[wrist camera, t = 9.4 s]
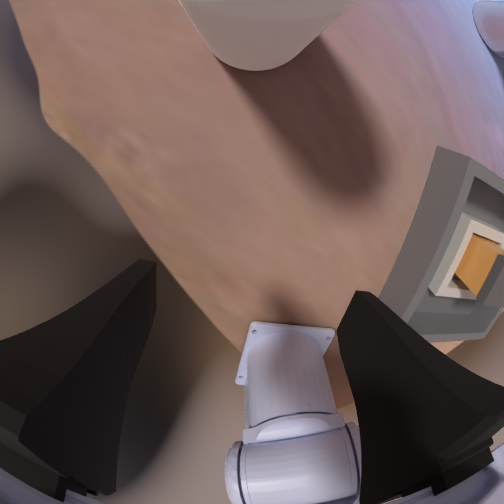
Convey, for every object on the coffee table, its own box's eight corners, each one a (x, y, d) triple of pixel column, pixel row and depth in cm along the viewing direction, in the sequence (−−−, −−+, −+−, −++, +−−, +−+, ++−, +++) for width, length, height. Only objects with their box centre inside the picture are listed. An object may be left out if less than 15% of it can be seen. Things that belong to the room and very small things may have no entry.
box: (467, 317, 26) (483, 338, 22) (370, 312, 24) (385, 342, 21) (523, 200, 18) (547, 215, 15) (437, 145, 17) (470, 157, 13)
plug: (470, 271, 22) (503, 306, 16) (446, 266, 21) (482, 305, 16) (487, 235, 20) (524, 266, 14) (464, 226, 19) (506, 260, 14)
